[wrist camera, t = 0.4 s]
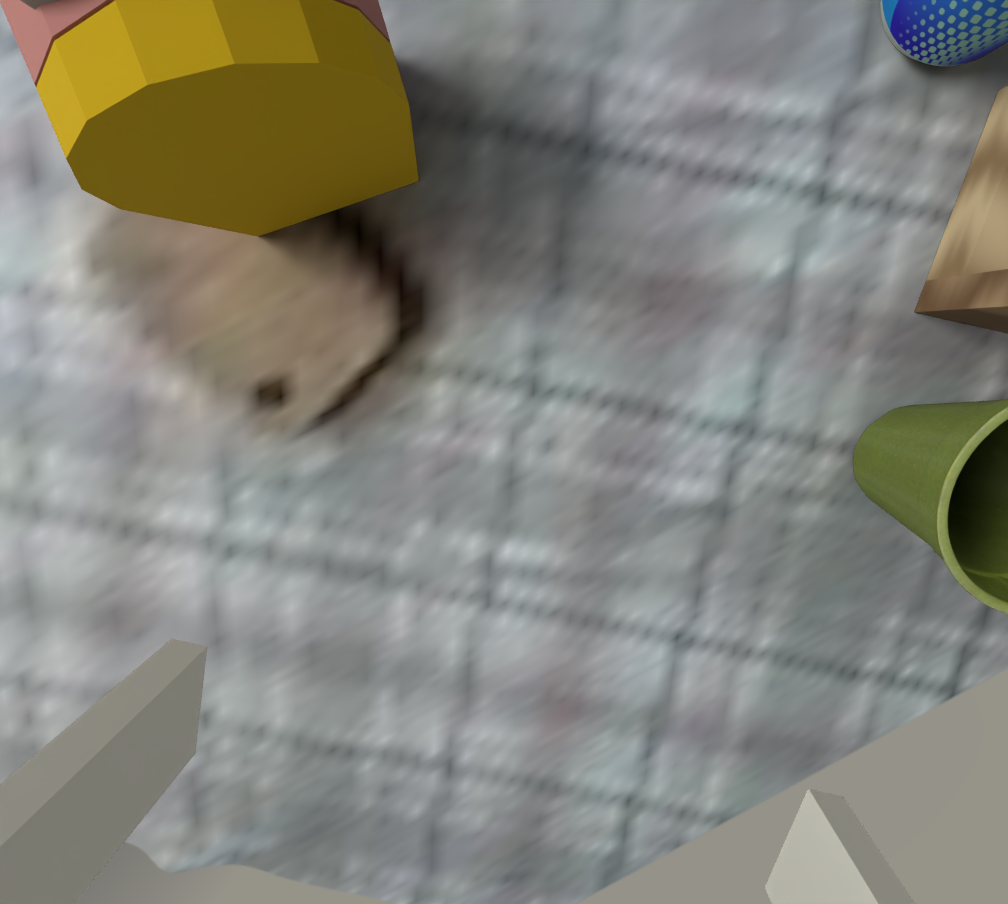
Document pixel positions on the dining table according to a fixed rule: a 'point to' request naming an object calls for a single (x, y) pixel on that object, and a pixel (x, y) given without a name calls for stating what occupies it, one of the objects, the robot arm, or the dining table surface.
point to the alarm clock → (221, 104)
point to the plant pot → (946, 485)
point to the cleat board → (976, 238)
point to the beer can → (945, 28)
